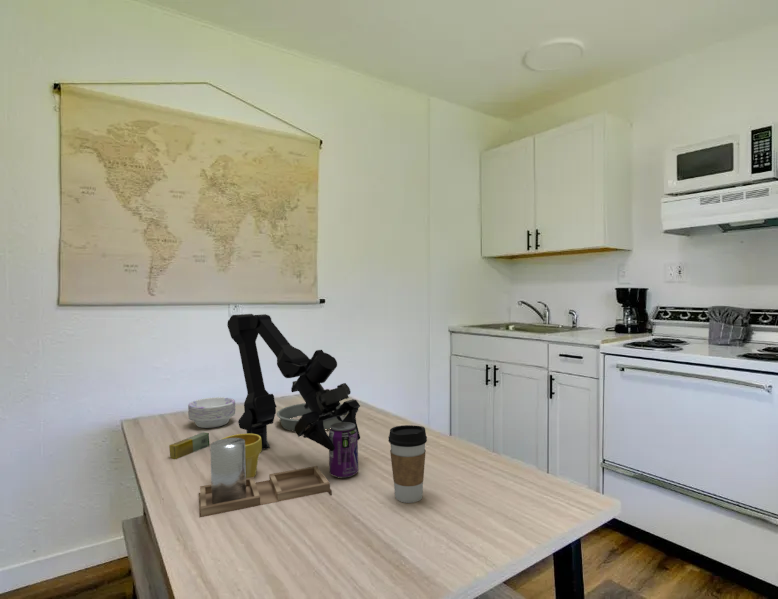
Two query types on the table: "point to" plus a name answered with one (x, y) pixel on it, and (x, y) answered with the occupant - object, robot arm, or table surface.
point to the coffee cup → (408, 461)
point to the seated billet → (228, 470)
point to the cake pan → (299, 411)
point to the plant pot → (250, 451)
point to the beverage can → (343, 450)
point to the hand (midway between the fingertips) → (346, 444)
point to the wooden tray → (268, 490)
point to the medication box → (189, 445)
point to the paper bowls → (211, 411)
